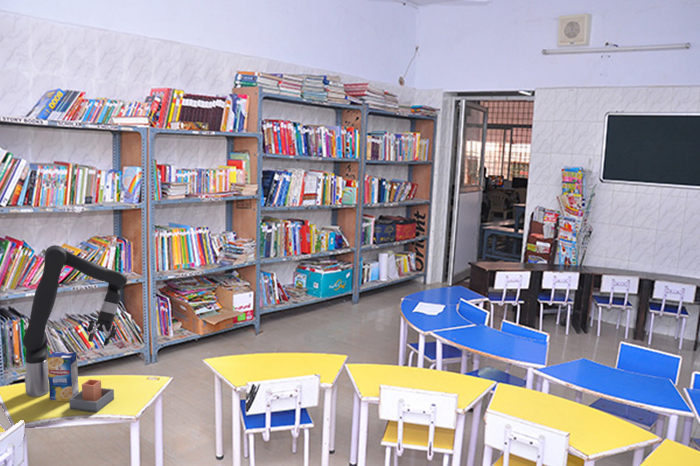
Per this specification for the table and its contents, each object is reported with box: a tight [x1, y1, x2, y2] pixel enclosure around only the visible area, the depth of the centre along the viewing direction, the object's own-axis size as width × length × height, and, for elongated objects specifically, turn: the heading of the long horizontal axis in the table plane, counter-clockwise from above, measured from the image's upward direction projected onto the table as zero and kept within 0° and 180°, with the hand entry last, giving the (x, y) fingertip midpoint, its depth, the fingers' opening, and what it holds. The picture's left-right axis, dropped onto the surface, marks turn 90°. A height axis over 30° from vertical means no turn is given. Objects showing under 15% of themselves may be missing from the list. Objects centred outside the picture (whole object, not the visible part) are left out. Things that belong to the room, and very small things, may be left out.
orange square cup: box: [81, 378, 102, 402], centre depth 270 cm, size 6×6×10 cm
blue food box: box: [47, 351, 80, 402], centre depth 275 cm, size 7×11×22 cm, turn 92°
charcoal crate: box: [68, 387, 115, 414], centre depth 271 cm, size 14×14×5 cm
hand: (97, 343), depth 280 cm, fingers open, 8 cm apart
